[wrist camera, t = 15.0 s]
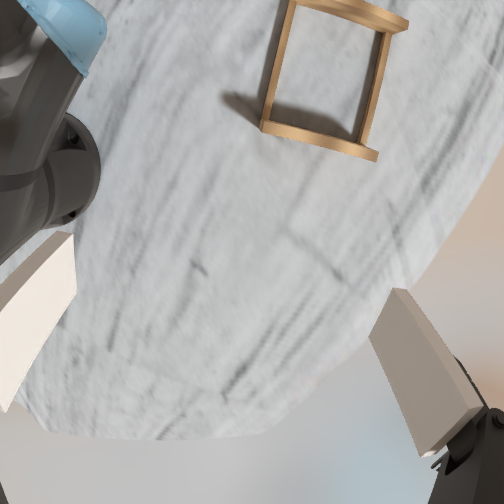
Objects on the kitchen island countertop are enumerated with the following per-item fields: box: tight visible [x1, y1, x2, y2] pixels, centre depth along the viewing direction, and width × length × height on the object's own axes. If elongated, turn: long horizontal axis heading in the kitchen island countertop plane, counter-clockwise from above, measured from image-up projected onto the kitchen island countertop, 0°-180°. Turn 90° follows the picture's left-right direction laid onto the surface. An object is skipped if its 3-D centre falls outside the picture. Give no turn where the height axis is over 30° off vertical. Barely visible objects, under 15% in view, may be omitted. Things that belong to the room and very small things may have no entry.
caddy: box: [259, 0, 409, 162], centre depth 29 cm, size 13×17×5 cm
